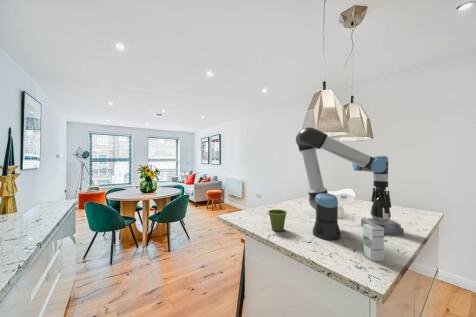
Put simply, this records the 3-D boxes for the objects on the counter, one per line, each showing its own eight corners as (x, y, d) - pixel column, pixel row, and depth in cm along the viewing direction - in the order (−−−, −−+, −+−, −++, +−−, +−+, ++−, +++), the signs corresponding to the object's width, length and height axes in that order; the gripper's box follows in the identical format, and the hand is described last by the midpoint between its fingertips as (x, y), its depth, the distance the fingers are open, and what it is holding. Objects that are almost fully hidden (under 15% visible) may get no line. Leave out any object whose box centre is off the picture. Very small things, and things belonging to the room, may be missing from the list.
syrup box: (384, 261, 85) (384, 227, 85) (372, 261, 85) (372, 228, 85) (374, 254, 91) (374, 223, 91) (362, 255, 91) (362, 223, 91)
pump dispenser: (394, 224, 117) (394, 199, 117) (375, 223, 119) (375, 198, 119) (385, 219, 127) (385, 195, 127) (367, 218, 129) (367, 195, 129)
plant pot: (285, 226, 129) (285, 209, 129) (288, 233, 117) (288, 214, 117) (267, 226, 130) (267, 208, 130) (268, 232, 118) (268, 213, 118)
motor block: (373, 233, 116) (373, 224, 116) (358, 223, 136) (358, 214, 136) (403, 235, 114) (403, 225, 114) (383, 224, 134) (383, 215, 134)
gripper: (399, 182, 111) (399, 222, 111) (377, 178, 134) (377, 211, 134) (384, 182, 113) (384, 221, 112) (365, 178, 135) (365, 211, 135)
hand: (380, 216), depth 123 cm, fingers closed on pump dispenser, 10 cm apart
